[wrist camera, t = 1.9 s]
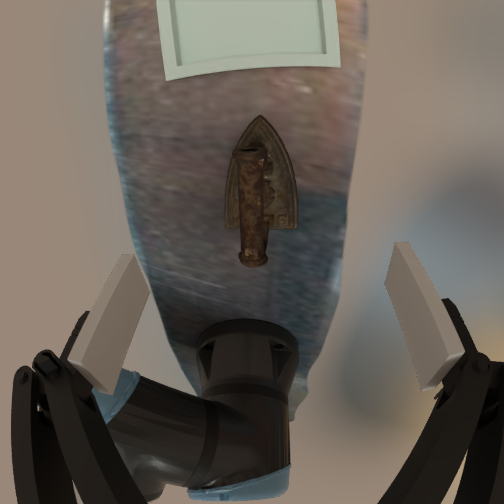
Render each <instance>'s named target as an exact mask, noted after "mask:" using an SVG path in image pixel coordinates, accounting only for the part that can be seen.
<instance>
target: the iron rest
mask: <svg viewBox="0 0 504 504" xmlns="http://www.w3.org/2000/svg"><path fill="white" fill-rule="evenodd" d="M156 1H157V12H158V21H159V30H160V39H161V47H162V54H163V62H164V69H165V76H166V81H169V80H175V79H180V78H186V77H191V76H197V75H203V74H210V73H217V72H224V71H233V70H242V69H254V68H269V67H341V66H340V49H339V35H338V24H337V14H336V5H335V0H156Z"/></svg>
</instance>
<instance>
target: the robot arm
mask: <svg viewBox="0 0 504 504" xmlns="http://www.w3.org/2000/svg"><path fill="white" fill-rule="evenodd" d="M385 286H386V288H387V291H388V293H389V296H390V298H391V301H392V304H393V306H394V309H395V311H396V314H397V317H398V320H399V322H400V325H401V328H402V331H403V334H404V337H405V340H406V342H407V345H408V349H409V352H410V355H411V358H412V361H413V365H414V368H415V371H416V375H417V378H418V382H419V384H420V389H421V391H424V390H428V389H432V388H436V387H437V385H438V384H439V383H440V382H441V381H442V383H443V386H444V387H443V388H442V389H441V390H440V391H439V392H438V393H437V395H436V396H435V397H434V399H437V398H438V399H437V402H436V404H435V406H434V408H433V411H432V413H431V415H430V417H429V419H428V421H427V423H426V425H425V427H424V429H423V431H422V433H421V435H420V437H419V439H418V441H417V443H416V444H415V446H414V448H413V450H412V452H411V453H410V455H409V457H408V459H407V460H406V462H405V464H404V465H403V467H402V468H401V470H400V472H399V473H398V475H397V476H396V478H395V479H394V481H393V482H392V484H391V485H390V487H389V488H388V490H387V491H386V492H385V494H384V495H383V497H382V498H381V499H380V501H379V502H378V504H441V502H442V500H443V499H444V497H445V495H446V493H447V491H448V490H449V488H450V486H451V484H452V482H453V480H454V478H455V476H456V474H457V472H458V470H459V468H460V465H461V463H462V461H463V459H464V457H465V454H466V452H467V456H466V461H465V465H464V470H463V473H462V477H461V480H460V484H459V487H458V491H457V494H456V497H455V500H454V503H453V504H504V362H496V361H490V359H489V358H488V357H487V356H486V355H485V354H483V353H480V352H478V351H477V349H476V347H475V344H474V342H473V340H472V338H471V336H470V333H469V331H468V329H467V327H466V325H465V324H464V321H463V319H462V317H461V316H460V313H459V311H458V309H457V307H456V305H455V304H454V303H453V302H452V301H450V299H449V298H447V299H441V298H440V296H439V295H438V293H437V291H436V289H435V287H434V285H433V283H432V281H431V280H430V278H429V276H428V274H427V272H426V271H425V269H424V267H423V265H422V264H421V262H420V260H419V259H418V257H417V255H416V254H415V252H414V250H413V249H412V247H411V245H410V244H409V242H395V245H394V249H393V253H392V257H391V261H390V265H389V269H388V273H387V276H386V280H385ZM149 294H150V291H149V289H148V286H147V284H146V282H145V279H144V277H143V275H142V272H141V270H140V267H139V265H138V262H137V260H136V257H135V255H134V254H125V255H122V256H121V257H120V259H119V261H118V262H117V264H116V266H115V268H114V269H113V271H112V272H111V274H110V276H109V278H108V280H107V282H106V283H105V285H104V287H103V288H102V290H101V292H100V294H99V296H98V298H97V299H96V301H95V303H94V305H93V307H92V309H91V311H86V312H85V313H84V314H83V315H82V316H81V317H80V318H79V319H78V321H77V323H76V326H75V329H73V331H72V333H71V336H70V337H69V339H68V342H67V343H66V346H65V348H64V350H63V352H62V354H61V356H60V358H58V357H57V356H56V355H55V354H54V353H53V352H52V351H51V350H43V351H41V352H40V353H38V354H37V355H36V357H35V358H34V361H33V363H32V364H33V365H32V368H33V369H34V370H35V372H34V371H33V370H32V369H31V368H30V367H28V366H22V367H20V368H19V369H18V370H17V372H16V373H15V376H14V381H13V392H12V409H11V446H12V463H13V474H14V482H15V489H16V496H17V501H18V504H148V503H152V502H154V501H156V500H157V499H158V498H159V497H160V496H161V494H162V492H163V489H164V487H165V485H166V484H171V485H176V486H182V487H187V488H188V489H187V493H188V495H189V498H191V499H193V500H202V501H248V500H260V499H270V498H275V497H279V496H280V495H282V494H284V493H285V491H286V490H287V489H288V485H289V471H290V468H291V463H290V434H289V408H288V394H289V391H290V388H291V385H292V382H293V379H294V376H295V373H296V370H297V366H298V362H299V352H298V344H297V341H296V340H295V338H294V337H293V336H292V335H291V334H290V333H289V332H288V331H286V330H284V329H283V328H281V327H279V326H276V325H274V324H270V323H267V322H262V321H256V320H232V321H226V322H222V323H219V324H216V325H214V326H212V327H210V328H208V329H207V330H205V331H204V332H203V333H202V334H201V336H200V338H199V340H198V345H197V350H196V360H197V366H198V371H199V376H200V381H201V386H202V397H201V398H200V397H197V396H194V395H191V394H188V393H185V392H182V391H179V390H177V389H174V388H171V387H168V386H166V385H163V384H160V383H158V382H155V381H153V380H150V379H148V378H145V377H143V376H141V375H140V374H139V373H138V372H136V371H132V372H131V371H129V370H126V369H123V368H122V366H123V363H124V360H125V357H126V354H127V351H128V348H129V346H130V343H131V340H132V337H133V335H134V332H135V329H136V327H137V324H138V321H139V319H140V316H141V314H142V311H143V309H144V306H145V304H146V301H147V299H148V296H149ZM37 405H38V406H39V407H40V408H39V411H37ZM467 449H468V451H467ZM72 480H73V481H72ZM73 482H74V486H73Z"/></svg>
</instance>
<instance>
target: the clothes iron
mask: <svg viewBox="0 0 504 504" xmlns="http://www.w3.org/2000/svg"><path fill="white" fill-rule="evenodd" d="M232 155H233V157H232V160H231V163H230V167H229V171H228V177H227V183H226V193H225V226H226V228H227V229H240V235H241V252H240V253H239V259H240V261H241V263H242V264H243V265H245V266H247V267H260V266H263V265H265V264H266V263H267V261H268V257H267V255H266V253H265V252H266V248H267V243H268V232H269V229H297V215H298V204H297V188H296V180H295V175H294V171H293V167H292V163H291V160H290V158H289V155H288V152H287V150H286V148H285V146H284V144H283V142H282V140H281V138H280V137H279V135H278V133H277V132H276V130H275V129H274V128H273V126H272V125H271V124H270V123H269V122H268V121H267V120H266V119H265V118H264V117H263V116H262V115H259V116H258V117H257V118H255V119H254V120H253V121H252V122H251V123H250V124H249V126H248V127H247V129H246V130H245V132H244V133H243V134H242V136H241V138H240V140H239V142H238V144H237V146H236V148H235V150H234V151H233V152H232Z"/></svg>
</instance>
